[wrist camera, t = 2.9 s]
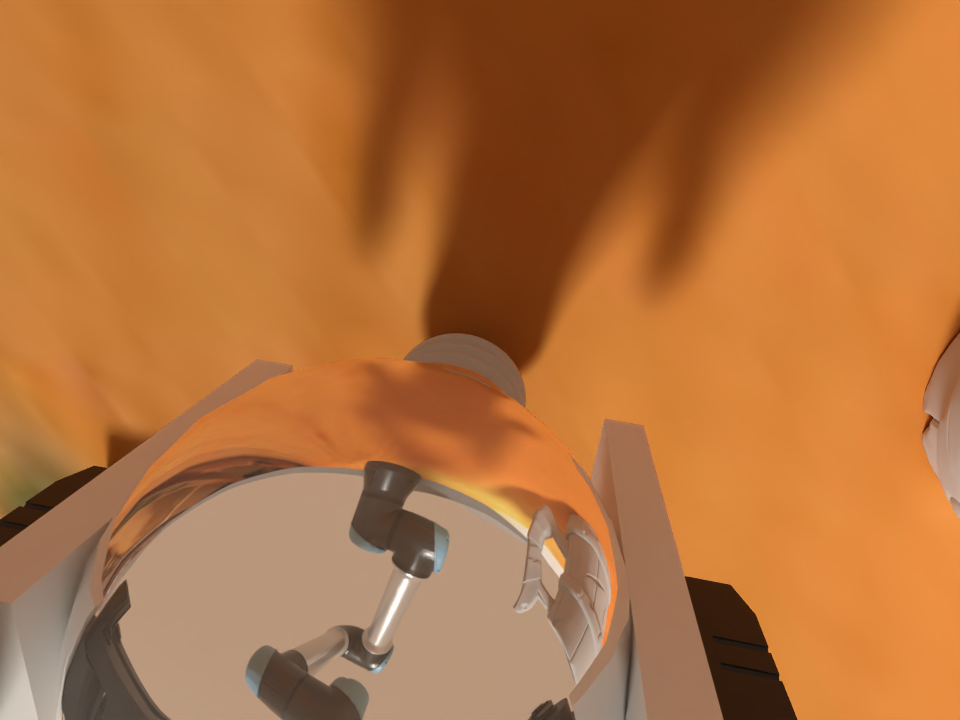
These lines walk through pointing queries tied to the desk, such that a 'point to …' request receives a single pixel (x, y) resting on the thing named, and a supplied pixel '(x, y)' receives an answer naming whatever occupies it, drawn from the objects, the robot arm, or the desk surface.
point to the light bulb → (358, 559)
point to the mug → (945, 423)
